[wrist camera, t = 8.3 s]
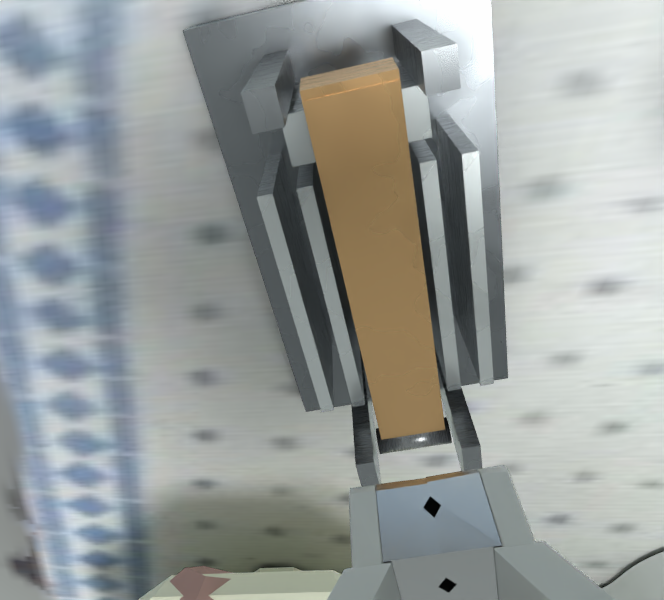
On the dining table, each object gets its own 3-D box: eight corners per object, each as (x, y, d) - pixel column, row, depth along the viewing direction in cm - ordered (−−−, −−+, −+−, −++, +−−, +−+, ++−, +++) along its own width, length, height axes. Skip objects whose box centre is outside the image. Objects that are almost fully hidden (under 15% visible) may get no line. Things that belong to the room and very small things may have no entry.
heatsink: (500, 361, 32) (557, 489, 24) (306, 394, 33) (302, 527, 26) (479, -44, 21) (570, -47, 13) (190, 26, 22) (120, 61, 15)
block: (444, 417, 27) (452, 448, 25) (377, 428, 27) (381, 459, 26) (398, 56, 17) (406, 69, 16) (294, 79, 17) (292, 95, 16)
